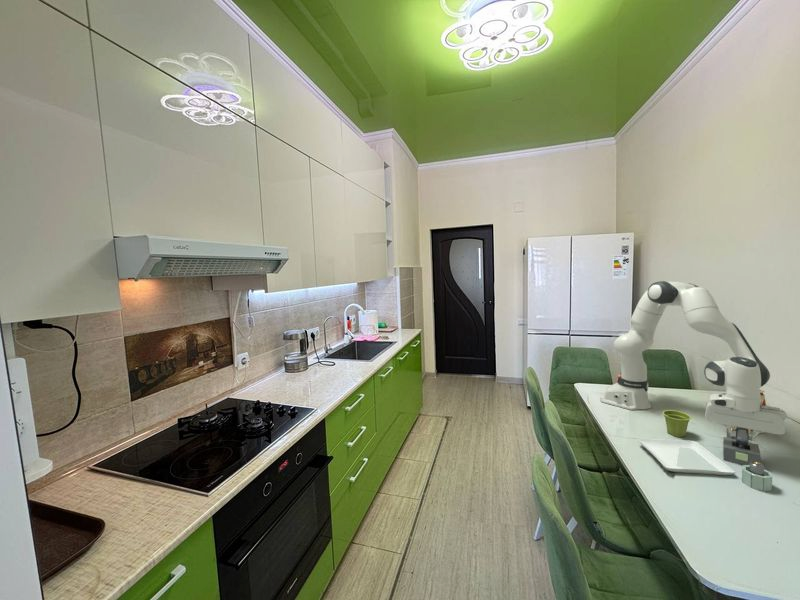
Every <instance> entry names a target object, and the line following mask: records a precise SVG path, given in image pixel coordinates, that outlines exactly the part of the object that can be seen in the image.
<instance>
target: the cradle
mask: <svg viewBox="0 0 800 600" xmlns="http://www.w3.org/2000/svg"><path fill="white" fill-rule="evenodd" d="M722 440H723V441H722V451H723V452H722V455H723V456H722V457H723V462H728V463H733V464H737V465H740V466H743V465H750V462H751V461H754V462H759V463H761V461H762V460H761V458H762V457H761V456H762V455H761V450H760V446H759V443H753V442H750V441H748V448H747V449H748V450H746V449H742V448H738V446H737V447H733V446H736V439H731V438H727V437H726V436H723V438H722Z"/></svg>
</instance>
